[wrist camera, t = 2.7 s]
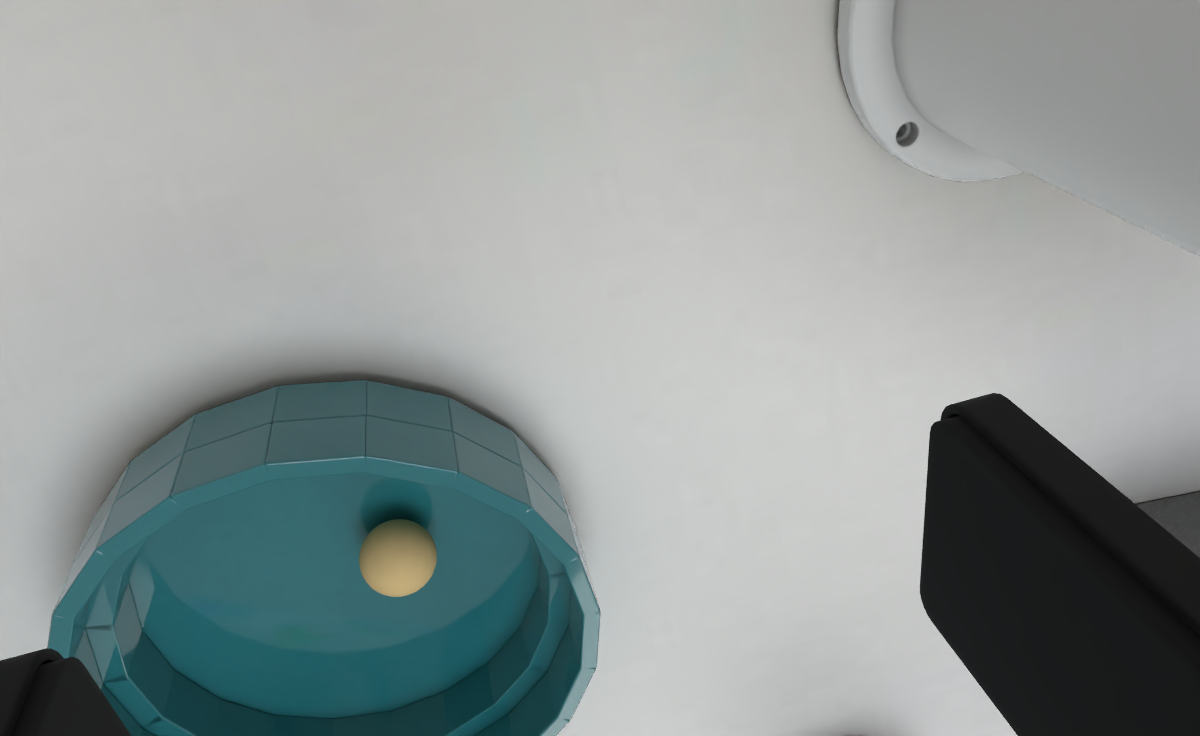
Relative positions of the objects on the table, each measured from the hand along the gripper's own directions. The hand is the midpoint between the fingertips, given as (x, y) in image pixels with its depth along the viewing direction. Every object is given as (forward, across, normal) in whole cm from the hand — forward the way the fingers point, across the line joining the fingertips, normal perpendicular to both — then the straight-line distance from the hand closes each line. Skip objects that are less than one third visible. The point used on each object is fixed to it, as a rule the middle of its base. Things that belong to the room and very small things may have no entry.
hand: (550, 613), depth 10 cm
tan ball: (+22, +5, +16) cm, 28 cm away
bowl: (+23, +8, +18) cm, 30 cm away
